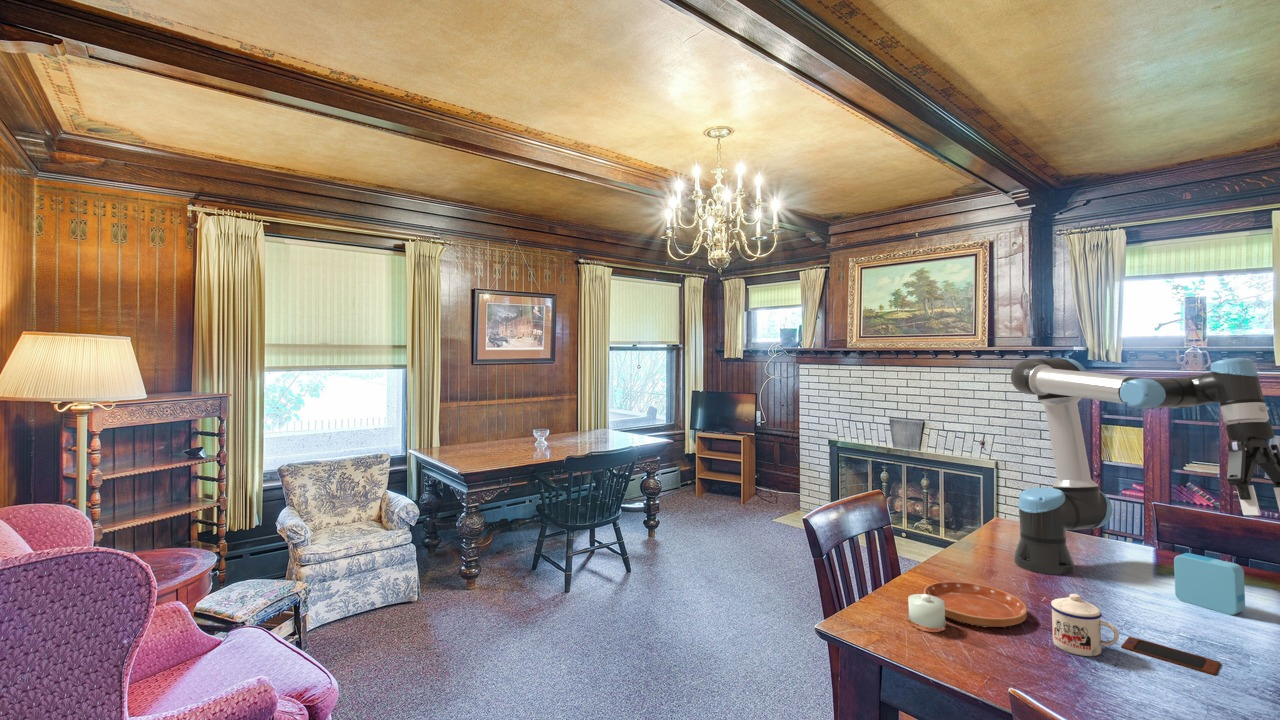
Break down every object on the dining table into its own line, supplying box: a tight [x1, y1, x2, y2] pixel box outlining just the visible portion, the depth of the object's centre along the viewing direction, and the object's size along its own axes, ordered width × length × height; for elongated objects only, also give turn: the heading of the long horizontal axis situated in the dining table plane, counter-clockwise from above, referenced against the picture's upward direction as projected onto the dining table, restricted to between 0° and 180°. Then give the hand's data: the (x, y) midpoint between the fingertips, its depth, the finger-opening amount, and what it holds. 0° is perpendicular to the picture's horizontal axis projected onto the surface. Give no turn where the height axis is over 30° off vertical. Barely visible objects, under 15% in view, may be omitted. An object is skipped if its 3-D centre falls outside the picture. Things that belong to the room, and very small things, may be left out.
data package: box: [1173, 552, 1246, 616], centre depth 145 cm, size 12×4×12 cm, turn 24°
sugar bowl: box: [907, 593, 946, 628], centre depth 139 cm, size 8×8×7 cm
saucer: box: [923, 581, 1028, 628], centre depth 146 cm, size 23×23×4 cm
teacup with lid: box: [1049, 593, 1120, 657], centre depth 126 cm, size 12×9×12 cm
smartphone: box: [1120, 636, 1222, 677], centre depth 122 cm, size 7×1×15 cm
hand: (1271, 516), depth 129 cm, fingers open, 13 cm apart
